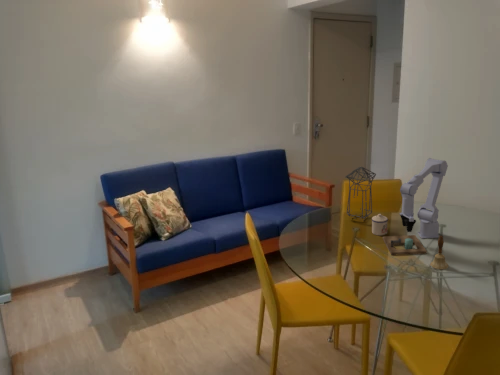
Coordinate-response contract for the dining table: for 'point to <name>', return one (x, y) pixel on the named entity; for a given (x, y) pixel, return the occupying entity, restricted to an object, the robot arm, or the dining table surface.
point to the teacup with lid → (379, 225)
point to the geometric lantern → (361, 188)
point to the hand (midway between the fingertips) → (407, 228)
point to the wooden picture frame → (416, 242)
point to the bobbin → (408, 243)
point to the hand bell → (439, 257)
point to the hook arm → (395, 241)
